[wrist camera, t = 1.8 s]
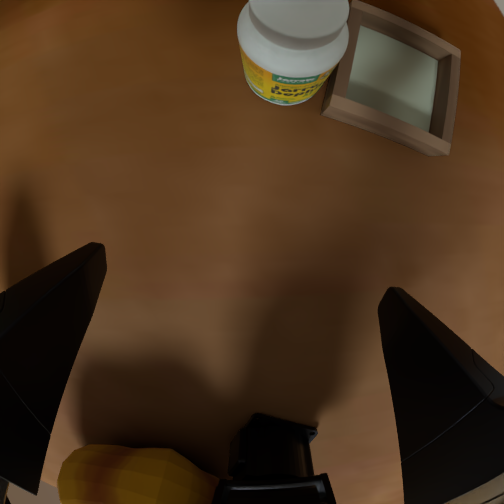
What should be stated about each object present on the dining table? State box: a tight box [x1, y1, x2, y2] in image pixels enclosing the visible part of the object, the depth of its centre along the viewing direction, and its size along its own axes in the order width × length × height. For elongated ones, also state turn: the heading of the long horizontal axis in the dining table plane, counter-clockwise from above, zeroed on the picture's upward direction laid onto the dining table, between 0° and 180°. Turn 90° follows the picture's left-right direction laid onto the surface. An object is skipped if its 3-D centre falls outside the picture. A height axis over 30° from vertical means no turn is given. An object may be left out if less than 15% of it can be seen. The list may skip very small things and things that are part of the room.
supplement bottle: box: [237, 0, 349, 105], centre depth 13 cm, size 5×5×10 cm
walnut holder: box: [320, 0, 461, 156], centre depth 16 cm, size 9×9×3 cm
